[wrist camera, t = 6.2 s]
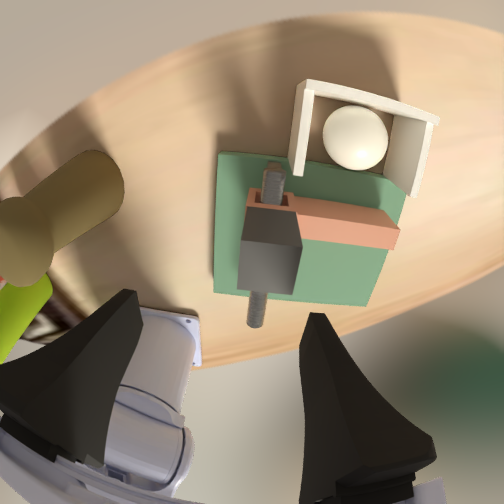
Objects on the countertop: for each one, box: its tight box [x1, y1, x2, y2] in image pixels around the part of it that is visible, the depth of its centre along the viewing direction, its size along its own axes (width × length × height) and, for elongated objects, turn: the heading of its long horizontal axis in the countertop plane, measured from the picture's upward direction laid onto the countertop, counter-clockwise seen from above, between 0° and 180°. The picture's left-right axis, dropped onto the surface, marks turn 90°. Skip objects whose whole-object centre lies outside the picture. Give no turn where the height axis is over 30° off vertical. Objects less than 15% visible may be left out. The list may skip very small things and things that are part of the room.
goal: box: [288, 79, 440, 198], centre depth 14 cm, size 7×5×5 cm
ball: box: [323, 105, 388, 170], centre depth 14 cm, size 4×4×4 cm
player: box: [237, 188, 400, 295], centre depth 14 cm, size 9×2×7 cm, turn 85°
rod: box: [247, 160, 287, 328], centre depth 18 cm, size 1×11×3 cm, turn 175°
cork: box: [0, 150, 124, 287], centre depth 14 cm, size 6×6×11 cm
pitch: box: [214, 151, 406, 307], centre depth 20 cm, size 13×11×1 cm
